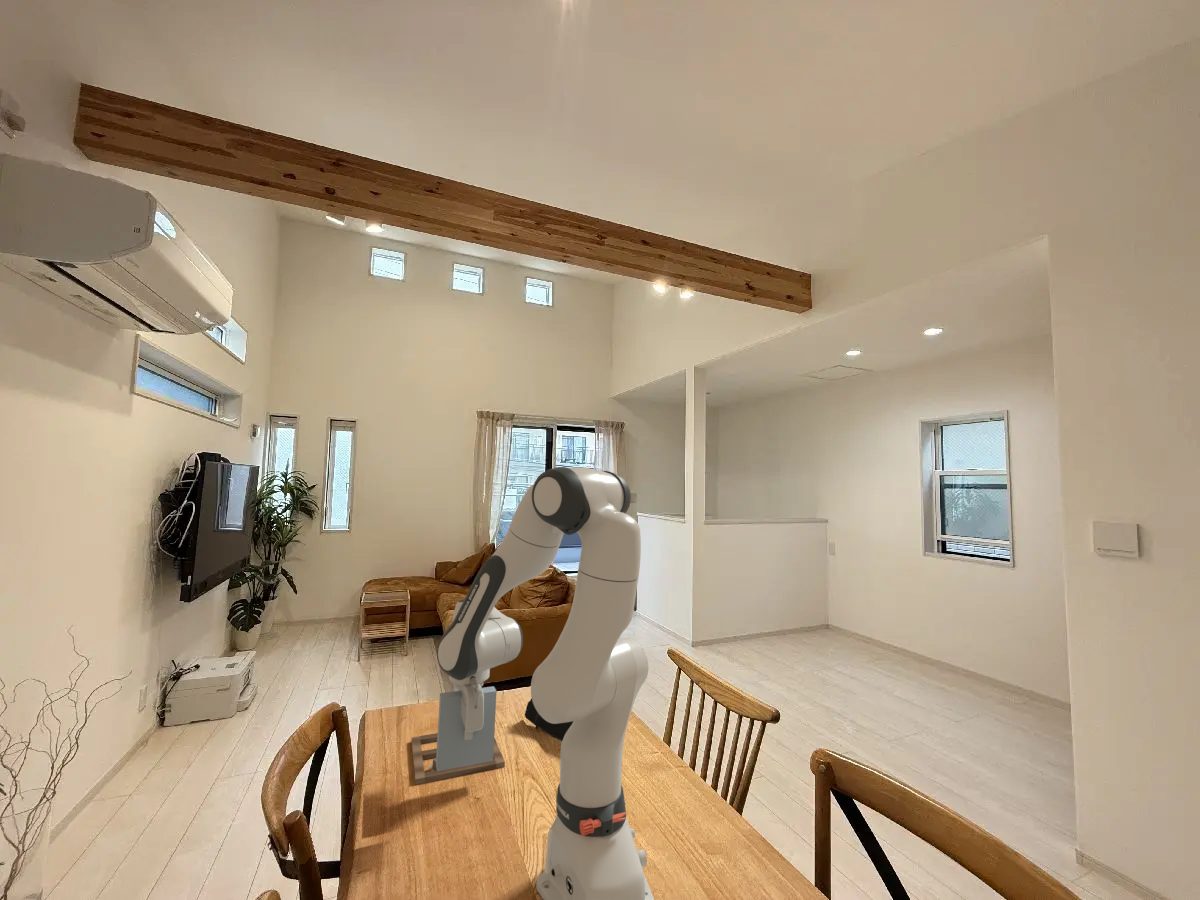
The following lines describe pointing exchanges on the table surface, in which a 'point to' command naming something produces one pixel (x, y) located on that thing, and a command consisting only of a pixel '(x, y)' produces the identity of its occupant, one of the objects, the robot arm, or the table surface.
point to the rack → (448, 773)
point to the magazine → (546, 723)
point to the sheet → (451, 732)
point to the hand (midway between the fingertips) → (466, 733)
